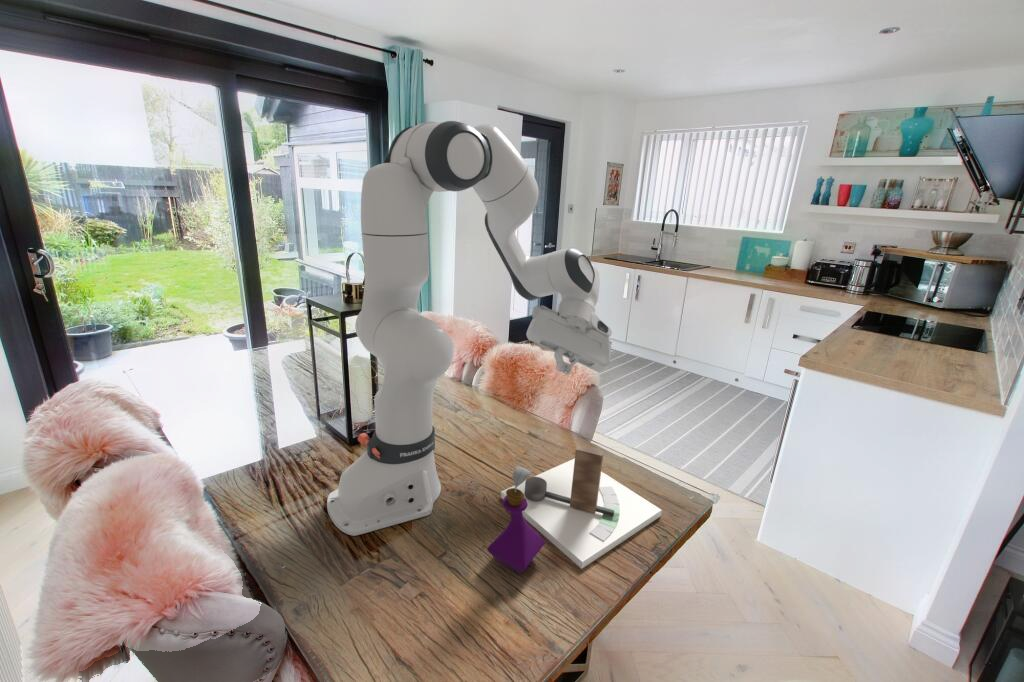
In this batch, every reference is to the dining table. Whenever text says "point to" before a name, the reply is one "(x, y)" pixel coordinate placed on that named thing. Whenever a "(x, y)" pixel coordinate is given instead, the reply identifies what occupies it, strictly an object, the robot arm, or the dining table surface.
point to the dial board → (586, 516)
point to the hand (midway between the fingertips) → (563, 371)
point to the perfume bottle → (516, 530)
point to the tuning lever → (575, 483)
